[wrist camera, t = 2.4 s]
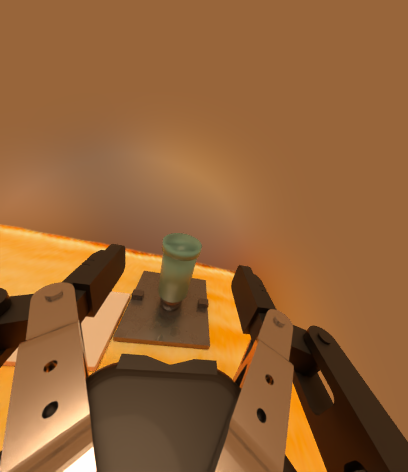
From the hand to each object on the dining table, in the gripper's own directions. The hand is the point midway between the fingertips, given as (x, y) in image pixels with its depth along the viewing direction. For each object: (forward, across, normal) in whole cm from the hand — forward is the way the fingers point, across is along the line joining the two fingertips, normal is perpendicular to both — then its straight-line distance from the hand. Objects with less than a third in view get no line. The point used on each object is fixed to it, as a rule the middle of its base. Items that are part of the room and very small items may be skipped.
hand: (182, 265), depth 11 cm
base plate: (+12, 0, +19) cm, 22 cm away
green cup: (+12, 0, +15) cm, 19 cm away
